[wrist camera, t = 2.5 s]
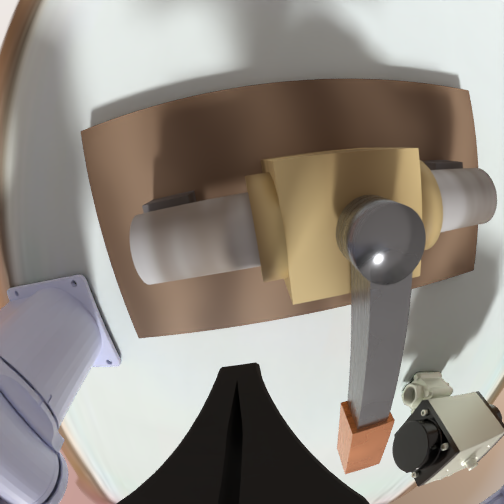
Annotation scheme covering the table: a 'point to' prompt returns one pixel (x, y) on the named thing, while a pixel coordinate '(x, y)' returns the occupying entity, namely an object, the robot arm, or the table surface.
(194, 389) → the table surface
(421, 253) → the valve lever
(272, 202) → the ball valve
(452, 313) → the table surface
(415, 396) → the pneumatic valve
